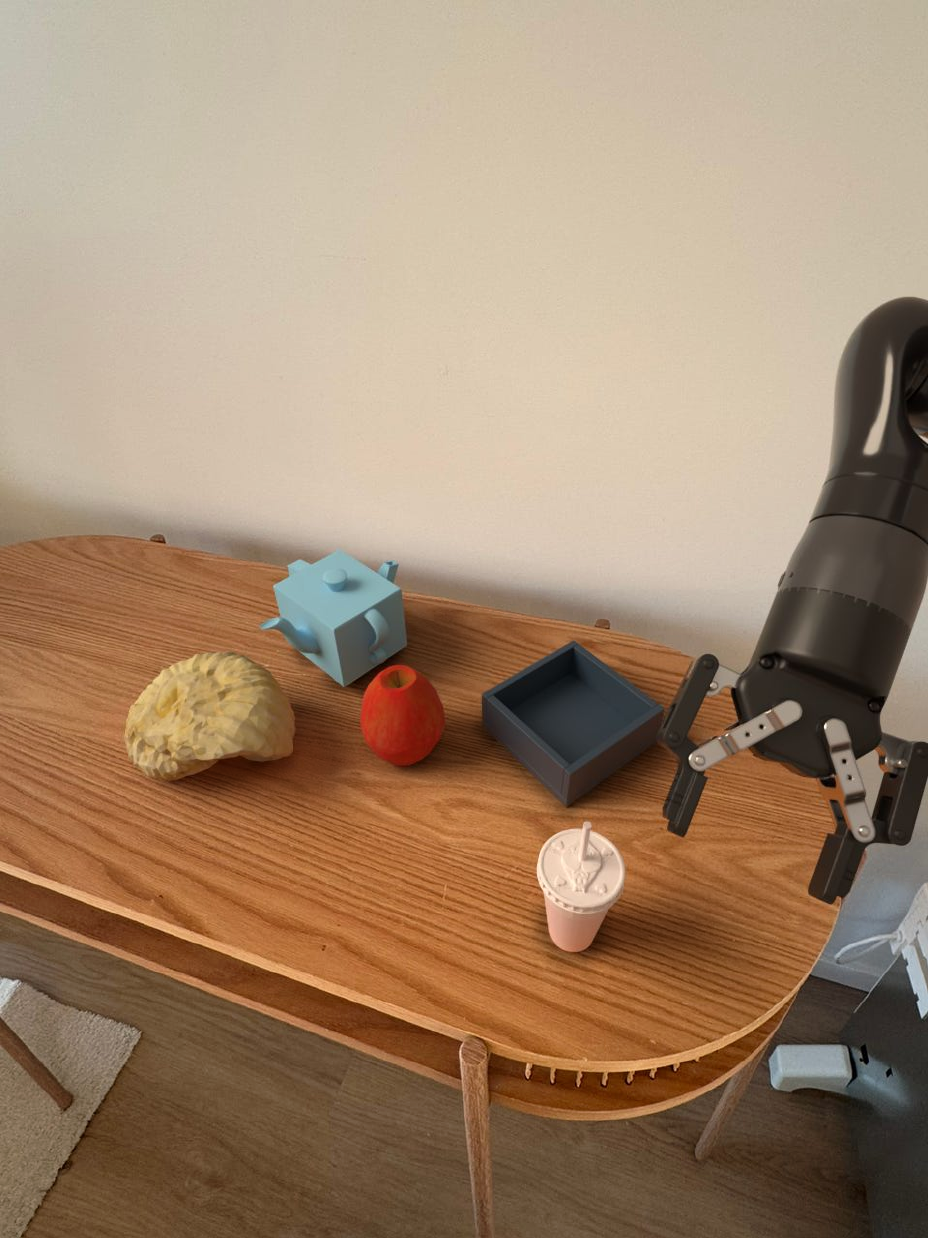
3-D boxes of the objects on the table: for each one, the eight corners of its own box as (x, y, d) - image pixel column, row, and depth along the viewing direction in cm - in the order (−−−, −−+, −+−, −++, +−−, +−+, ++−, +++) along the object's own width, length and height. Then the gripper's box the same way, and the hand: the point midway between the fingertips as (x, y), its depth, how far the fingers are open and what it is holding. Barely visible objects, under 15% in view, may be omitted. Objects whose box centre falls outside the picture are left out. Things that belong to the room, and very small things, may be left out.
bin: (657, 741, 74) (665, 708, 70) (566, 808, 68) (570, 774, 65) (570, 672, 81) (573, 639, 78) (481, 726, 76) (481, 693, 72)
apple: (463, 746, 74) (460, 671, 67) (401, 795, 69) (391, 720, 62) (409, 704, 78) (401, 629, 71) (348, 747, 74) (333, 672, 67)
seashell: (246, 694, 83) (107, 739, 74) (245, 614, 77) (94, 653, 68) (322, 787, 73) (171, 853, 64) (327, 704, 67) (163, 763, 58)
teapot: (445, 646, 85) (441, 569, 77) (321, 733, 75) (302, 654, 68) (359, 588, 93) (348, 513, 86) (237, 660, 84) (213, 582, 76)
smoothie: (612, 899, 61) (634, 799, 52) (610, 976, 56) (634, 882, 47) (536, 887, 62) (544, 787, 53) (527, 962, 57) (535, 867, 48)
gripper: (745, 548, 41) (637, 819, 39) (1003, 647, 39) (904, 939, 37) (712, 579, 48) (620, 808, 46) (928, 664, 46) (841, 908, 44)
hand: (746, 866), depth 42 cm, fingers open, 8 cm apart
